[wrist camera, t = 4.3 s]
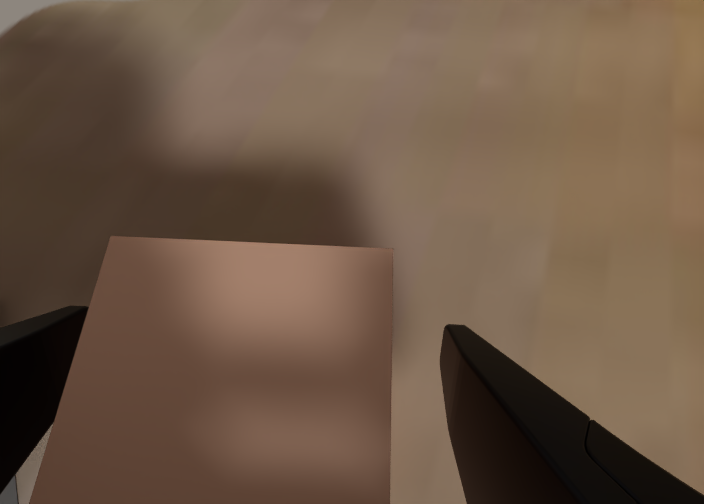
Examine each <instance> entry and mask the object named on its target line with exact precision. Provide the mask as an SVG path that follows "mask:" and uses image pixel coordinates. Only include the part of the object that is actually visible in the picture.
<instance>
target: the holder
mask: <svg viewBox="0 0 704 504" xmlns="http://www.w3.org/2000/svg"><path fill="white" fill-rule="evenodd" d="M0 504H18V500H17V491H16V482H15V476H14V477H13V478H12V480H11V481H10V482H9V484H8V485H7V487H6V488H5V489H4V491H3V492H2V493H1V495H0Z"/></svg>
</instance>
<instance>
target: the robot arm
mask: <svg viewBox="0 0 704 504" xmlns="http://www.w3.org/2000/svg"><path fill="white" fill-rule="evenodd" d="M88 309H89V307H87V306H68V307H65V308H61V309H58V310H55V311H52V312H49V313H46V314H43V315H40V316H36V317H33V318H30V319H27V320H24V321H21V322H18V323H15V324H12V325H8V326H5V327H2V328H0V495H1V493H2V492H3V491H4V489H5V488H6V487H7V485H8V484H9V482H10V481H11V480H12V478H13V477H14V476H15V474H16V473H17V472H18V470H19V469H20V467H21V466H22V465H23V463H24V462H25V461H26V459H27V458H28V457H29V455H30V454H31V452H32V451H33V450H34V448H35V447H36V446H37V444H38V443H39V441H40V440H41V439H42V437H43V436H44V435H45V433H46V432H47V431H48V429H49V428H50V426H51V425H52V424H53V422H54V420H55V417H56V414H57V410H58V407H59V404H60V401H61V397H62V394H63V391H64V387H65V384H66V381H67V378H68V374H69V371H70V368H71V364H72V361H73V358H74V355H75V351H76V348H77V345H78V342H79V338H80V335H81V332H82V328H83V325H84V322H85V319H86V315H87V312H88ZM440 370H441V378H442V386H443V393H444V401H445V409H446V417H447V423H448V430H449V435H450V439H451V443H452V447H453V451H454V455H455V459H456V463H457V467H458V471H459V475H460V478H461V482H462V486H463V490H464V494H465V498H466V502H467V504H704V495H703V494H701V493H699V492H698V491H696V490H695V489H693V488H692V487H690V486H689V485H687V484H685V483H684V482H682V481H681V480H679V479H678V478H676V477H675V476H673V475H672V474H670V473H669V472H667V471H666V470H664V469H663V468H661V467H660V466H658V465H657V464H655V463H654V462H652V461H651V460H649V459H647V458H646V457H644V456H643V455H641V454H640V453H639V452H637V451H636V450H634V449H633V448H632V447H630V446H629V445H627V444H626V443H625V442H623V441H622V440H620V439H619V438H618V437H616V436H615V435H613V434H612V433H611V432H609V431H608V430H606V429H605V428H604V427H602V426H601V425H600V424H598V423H597V422H596V421H594V420H590V418H589V416H587V415H586V414H585V413H583V412H582V411H581V410H579V409H578V408H576V407H575V406H574V405H572V404H571V403H570V402H568V401H567V400H566V399H564V398H563V397H562V396H560V395H559V394H557V393H556V392H555V391H553V390H552V389H551V388H549V387H548V386H547V385H545V384H544V383H543V382H541V381H540V380H538V379H537V378H536V377H534V376H533V375H532V374H530V373H529V372H528V371H526V370H525V369H524V368H522V367H521V366H519V365H518V364H517V363H515V362H514V361H513V360H511V359H510V358H509V357H507V356H506V355H505V354H503V353H502V352H500V351H499V350H498V349H496V348H495V347H494V346H492V345H491V344H490V343H488V342H487V341H486V340H484V339H483V338H481V337H480V336H479V335H477V334H476V333H475V332H473V331H472V330H471V329H469V328H468V327H466V326H465V325H453V324H448V325H446V326H445V328H444V332H443V339H442V347H441V354H440Z"/></svg>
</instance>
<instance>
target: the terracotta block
mask: <svg viewBox="0 0 704 504" xmlns="http://www.w3.org/2000/svg"><path fill="white" fill-rule="evenodd" d="M392 300H393V249H389V248H367V247H345V246H322V245H300V244H278V243H256V242H234V241H212V240H190V239H168V238H146V237H124V236H111V237H110V240H109V243H108V246H107V250H106V253H105V256H104V260H103V263H102V266H101V269H100V273H99V276H98V279H97V282H96V286H95V289H94V292H93V296H92V299H91V302H90V305H89V309H88V312H87V315H86V319H85V322H84V325H83V328H82V332H81V335H80V338H79V342H78V345H77V348H76V351H75V355H74V358H73V361H72V364H71V368H70V371H69V374H68V378H67V381H66V384H65V387H64V391H63V394H62V397H61V401H60V404H59V407H58V410H57V414H56V417H55V420H54V424H53V427H52V430H51V433H50V437H49V440H48V443H47V446H46V450H45V453H44V456H43V460H42V463H41V466H40V469H39V473H38V476H37V479H36V483H35V486H34V489H33V492H32V496H31V499H30V502H29V504H390V456H391V378H392Z"/></svg>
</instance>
